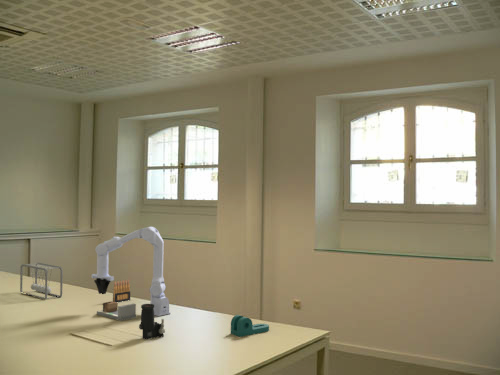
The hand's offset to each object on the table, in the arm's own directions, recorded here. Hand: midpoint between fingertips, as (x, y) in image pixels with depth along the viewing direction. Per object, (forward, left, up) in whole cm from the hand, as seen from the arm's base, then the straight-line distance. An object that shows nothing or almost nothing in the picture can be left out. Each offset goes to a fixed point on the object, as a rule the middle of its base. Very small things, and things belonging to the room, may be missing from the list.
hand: (102, 293), depth 270 cm
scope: (-55, +14, -10) cm, 58 cm away
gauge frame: (-12, 0, -9) cm, 15 cm away
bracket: (-81, -22, -10) cm, 85 cm away
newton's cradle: (+63, -1, -10) cm, 64 cm away
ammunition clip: (+15, -23, -10) cm, 29 cm away
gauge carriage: (-7, +1, -8) cm, 10 cm away
